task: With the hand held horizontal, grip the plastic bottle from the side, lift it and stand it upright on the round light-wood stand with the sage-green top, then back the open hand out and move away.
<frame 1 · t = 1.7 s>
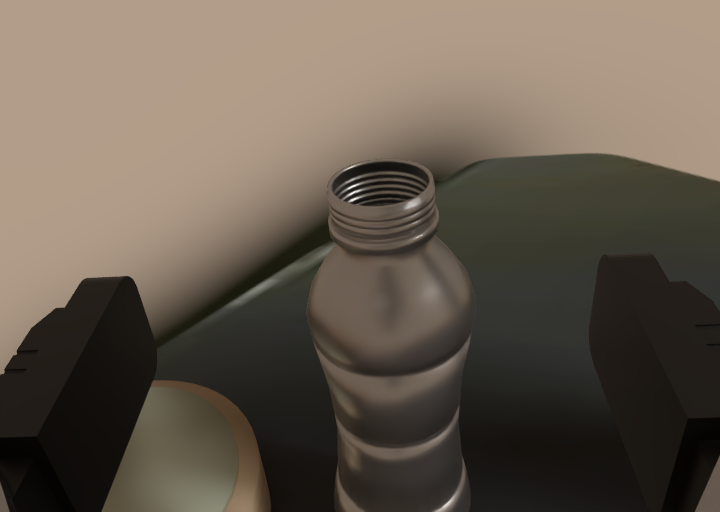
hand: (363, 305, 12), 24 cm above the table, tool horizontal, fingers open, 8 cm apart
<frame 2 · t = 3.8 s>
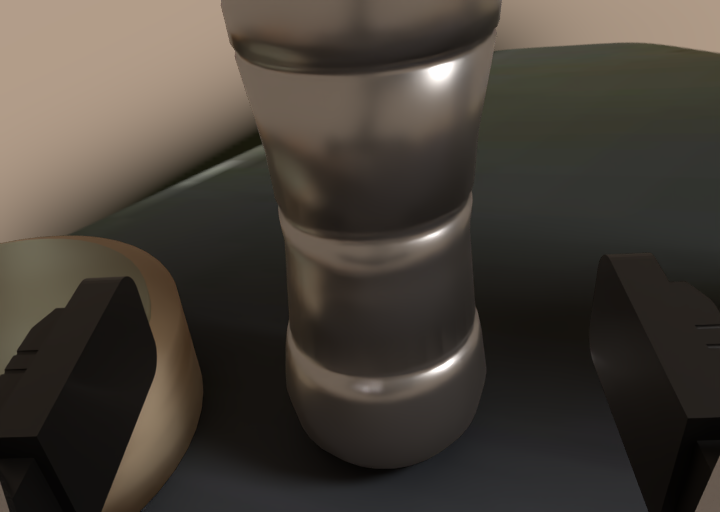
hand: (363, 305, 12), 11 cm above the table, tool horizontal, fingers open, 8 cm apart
plastic bottle: (390, 423, 24), on the table
wooden stand: (14, 427, 25), on the table
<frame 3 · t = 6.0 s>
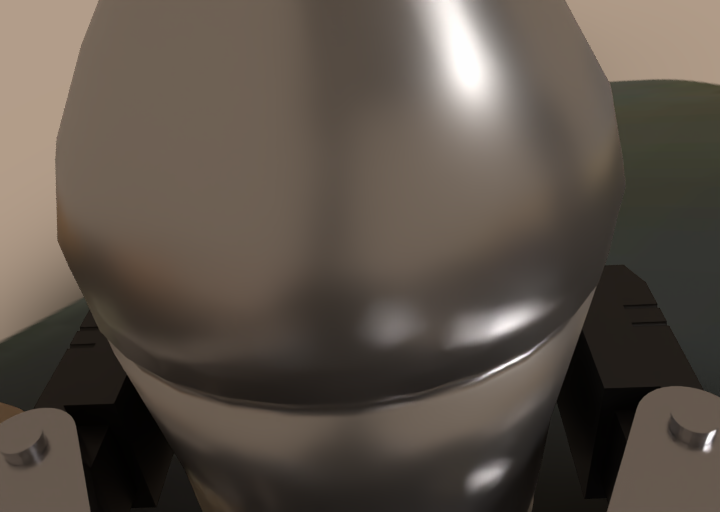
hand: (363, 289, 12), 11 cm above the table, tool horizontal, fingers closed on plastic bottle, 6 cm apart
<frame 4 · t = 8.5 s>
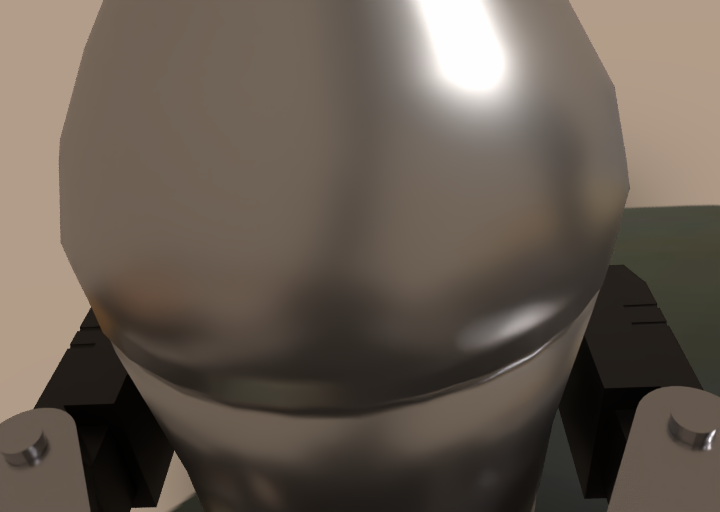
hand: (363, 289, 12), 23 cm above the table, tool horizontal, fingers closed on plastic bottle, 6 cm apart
when the fingers open (17 cm above the table, at t = 11.1 s): plastic bottle drops 1 cm, resting on wooden stand.
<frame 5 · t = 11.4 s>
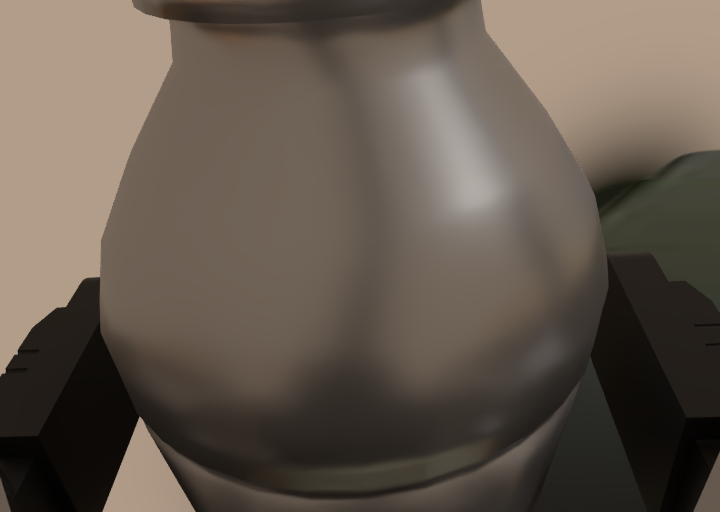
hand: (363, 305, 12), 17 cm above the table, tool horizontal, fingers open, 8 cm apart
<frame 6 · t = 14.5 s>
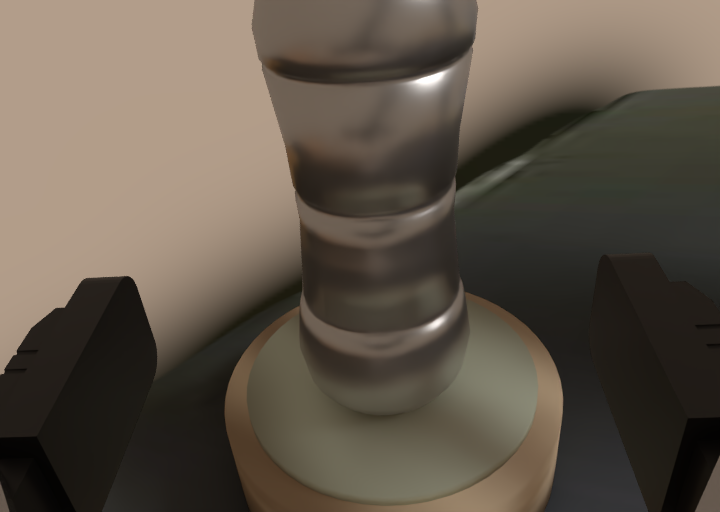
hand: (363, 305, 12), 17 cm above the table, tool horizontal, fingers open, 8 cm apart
plastic bottle: (388, 380, 28), point 4 cm above the table, touching wooden stand
wooden stand: (395, 444, 31), on the table
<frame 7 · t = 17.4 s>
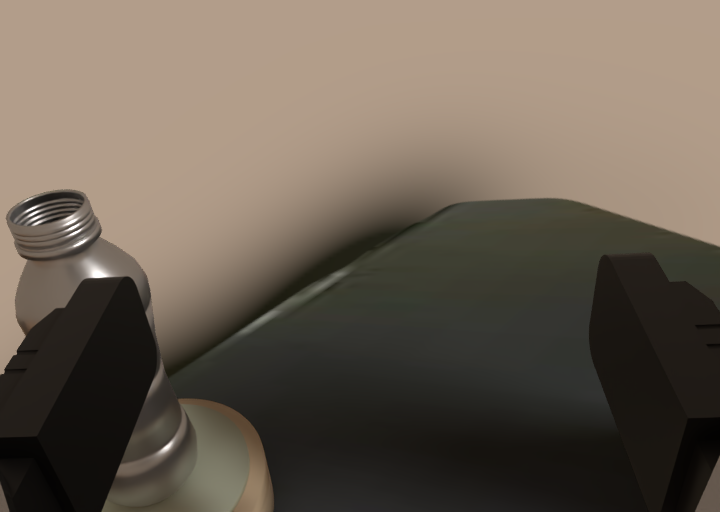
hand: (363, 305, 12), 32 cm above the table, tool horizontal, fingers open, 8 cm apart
plastic bottle: (153, 478, 43), point 4 cm above the table, touching wooden stand
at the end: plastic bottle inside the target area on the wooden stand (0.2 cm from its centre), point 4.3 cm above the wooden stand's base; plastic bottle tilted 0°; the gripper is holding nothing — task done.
